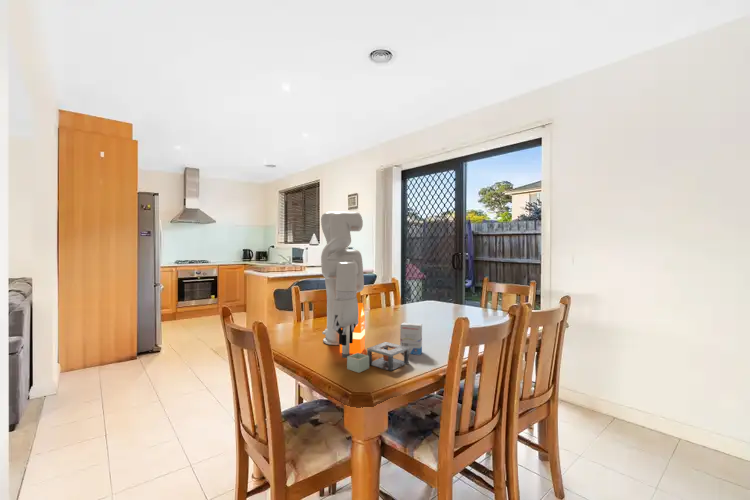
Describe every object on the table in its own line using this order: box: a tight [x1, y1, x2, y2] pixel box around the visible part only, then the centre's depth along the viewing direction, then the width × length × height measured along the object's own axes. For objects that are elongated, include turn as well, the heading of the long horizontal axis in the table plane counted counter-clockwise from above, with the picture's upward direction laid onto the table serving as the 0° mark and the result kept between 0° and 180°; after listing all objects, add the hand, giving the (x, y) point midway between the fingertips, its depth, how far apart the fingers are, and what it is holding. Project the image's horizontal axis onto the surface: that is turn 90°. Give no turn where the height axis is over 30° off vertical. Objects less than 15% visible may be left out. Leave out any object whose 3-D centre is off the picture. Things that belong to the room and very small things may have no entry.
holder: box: [346, 353, 370, 374], centre depth 127 cm, size 6×6×4 cm
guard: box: [366, 341, 410, 372], centre depth 132 cm, size 11×11×6 cm
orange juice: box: [339, 302, 366, 355], centre depth 147 cm, size 8×9×20 cm
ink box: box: [399, 322, 423, 356], centre depth 146 cm, size 9×5×12 cm, turn 74°
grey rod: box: [341, 325, 351, 359], centre depth 132 cm, size 3×3×16 cm
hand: (345, 343), depth 133 cm, fingers closed on grey rod, 2 cm apart
